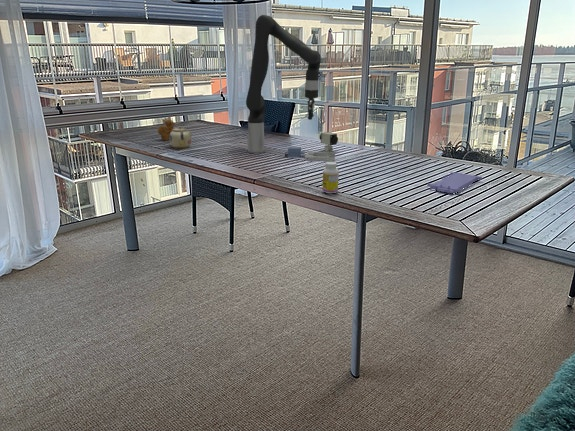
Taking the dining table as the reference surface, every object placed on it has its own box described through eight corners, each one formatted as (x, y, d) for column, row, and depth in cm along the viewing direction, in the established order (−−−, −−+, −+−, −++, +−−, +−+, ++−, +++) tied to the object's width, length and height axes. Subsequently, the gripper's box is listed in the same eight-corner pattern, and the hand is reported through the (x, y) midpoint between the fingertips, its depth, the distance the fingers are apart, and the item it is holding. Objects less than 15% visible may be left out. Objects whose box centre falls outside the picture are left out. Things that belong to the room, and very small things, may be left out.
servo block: (284, 156, 265) (284, 148, 263) (285, 155, 269) (285, 146, 267) (303, 157, 263) (303, 148, 262) (304, 155, 267) (304, 147, 266)
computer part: (424, 190, 203) (458, 197, 194) (425, 181, 202) (459, 187, 193) (450, 177, 225) (482, 182, 216) (451, 168, 223) (483, 173, 214)
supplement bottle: (321, 190, 202) (322, 161, 197) (336, 190, 202) (337, 161, 198) (323, 194, 195) (324, 164, 191) (339, 194, 196) (340, 164, 192)
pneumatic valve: (332, 153, 273) (332, 133, 269) (319, 150, 282) (319, 130, 278) (339, 152, 276) (339, 132, 272) (326, 149, 285) (326, 129, 281)
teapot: (164, 147, 291) (161, 125, 286) (182, 143, 300) (180, 123, 295) (181, 151, 277) (179, 129, 273) (200, 148, 286) (198, 126, 281)
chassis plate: (305, 160, 256) (305, 156, 255) (307, 154, 270) (307, 151, 269) (334, 161, 254) (334, 157, 253) (335, 155, 268) (335, 152, 267)
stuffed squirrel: (182, 139, 315) (180, 119, 311) (166, 142, 304) (164, 122, 299) (171, 137, 320) (169, 118, 316) (155, 141, 309) (154, 121, 304)
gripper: (305, 87, 264) (304, 116, 269) (304, 89, 251) (302, 120, 256) (319, 87, 263) (317, 116, 269) (317, 90, 250) (316, 120, 255)
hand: (310, 118), depth 262 cm, fingers open, 8 cm apart
